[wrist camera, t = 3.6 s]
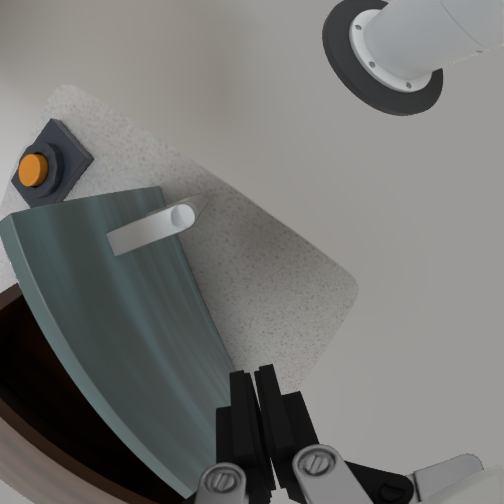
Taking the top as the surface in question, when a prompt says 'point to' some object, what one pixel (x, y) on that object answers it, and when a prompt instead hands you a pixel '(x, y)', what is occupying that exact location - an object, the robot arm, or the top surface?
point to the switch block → (54, 165)
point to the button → (33, 170)
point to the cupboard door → (128, 320)
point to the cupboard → (59, 427)
